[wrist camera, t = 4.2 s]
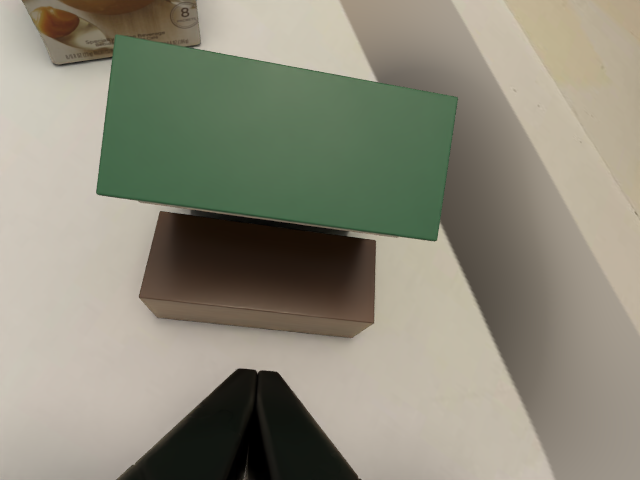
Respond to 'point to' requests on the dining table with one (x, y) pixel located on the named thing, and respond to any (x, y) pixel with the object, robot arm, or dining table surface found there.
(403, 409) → the dining table surface
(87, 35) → the coffee box
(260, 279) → the block
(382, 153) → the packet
